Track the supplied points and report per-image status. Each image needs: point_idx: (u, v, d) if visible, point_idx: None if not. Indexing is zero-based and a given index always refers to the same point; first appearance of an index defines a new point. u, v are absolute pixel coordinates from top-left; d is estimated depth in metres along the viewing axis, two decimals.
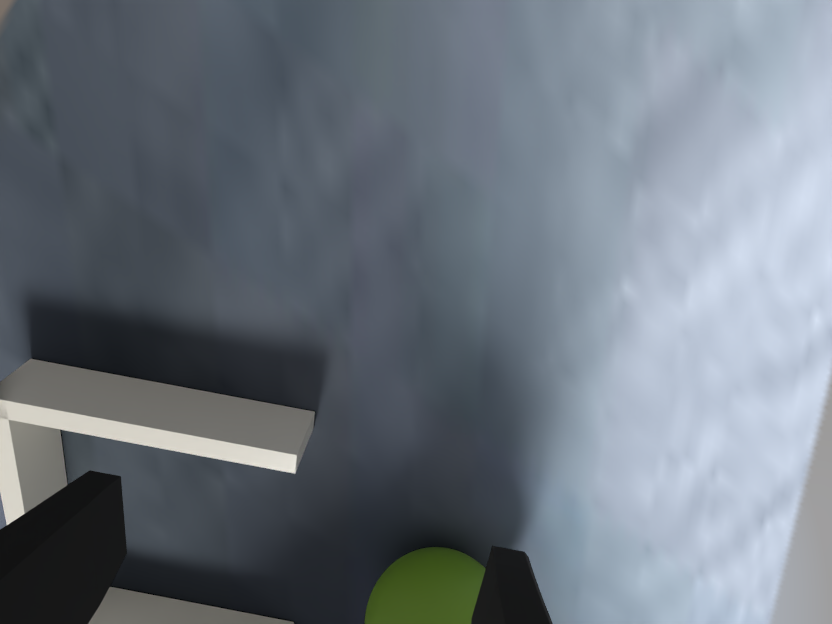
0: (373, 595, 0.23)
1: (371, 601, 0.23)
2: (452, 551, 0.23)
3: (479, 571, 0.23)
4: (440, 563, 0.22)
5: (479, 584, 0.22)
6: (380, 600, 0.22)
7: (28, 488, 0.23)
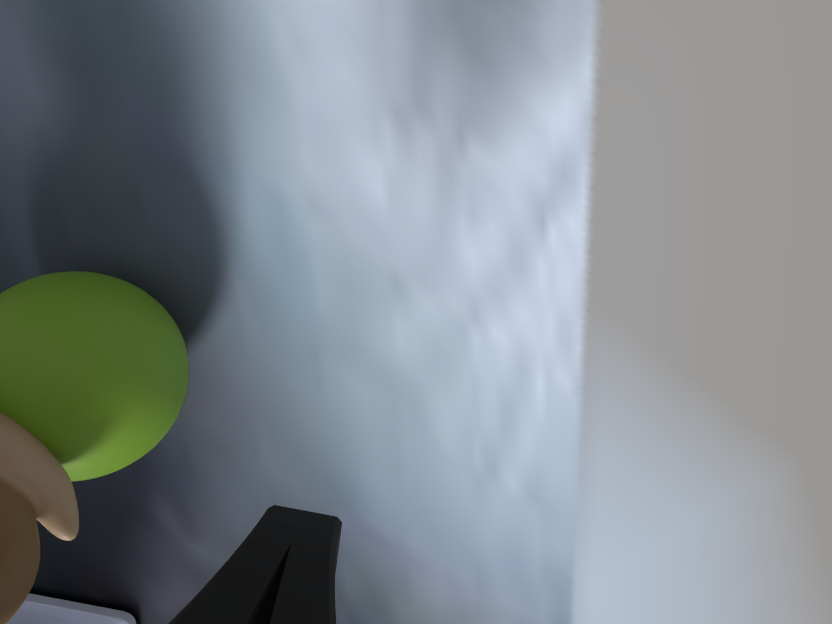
0: None
1: None
2: (107, 275, 0.16)
3: (130, 291, 0.16)
4: (67, 274, 0.15)
5: (115, 297, 0.15)
6: None
7: None
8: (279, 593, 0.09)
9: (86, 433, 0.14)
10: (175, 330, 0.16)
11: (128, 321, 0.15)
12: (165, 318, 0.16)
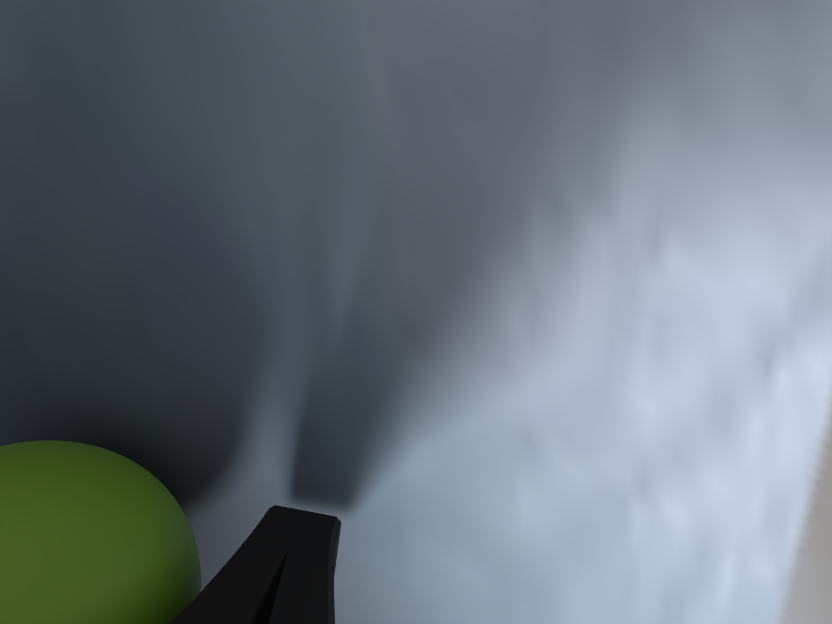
0: None
1: None
2: (81, 447, 0.11)
3: (107, 489, 0.10)
4: (8, 461, 0.10)
5: (77, 513, 0.09)
6: None
7: None
8: (278, 593, 0.09)
9: None
10: (178, 542, 0.10)
11: (92, 560, 0.09)
12: (163, 526, 0.10)
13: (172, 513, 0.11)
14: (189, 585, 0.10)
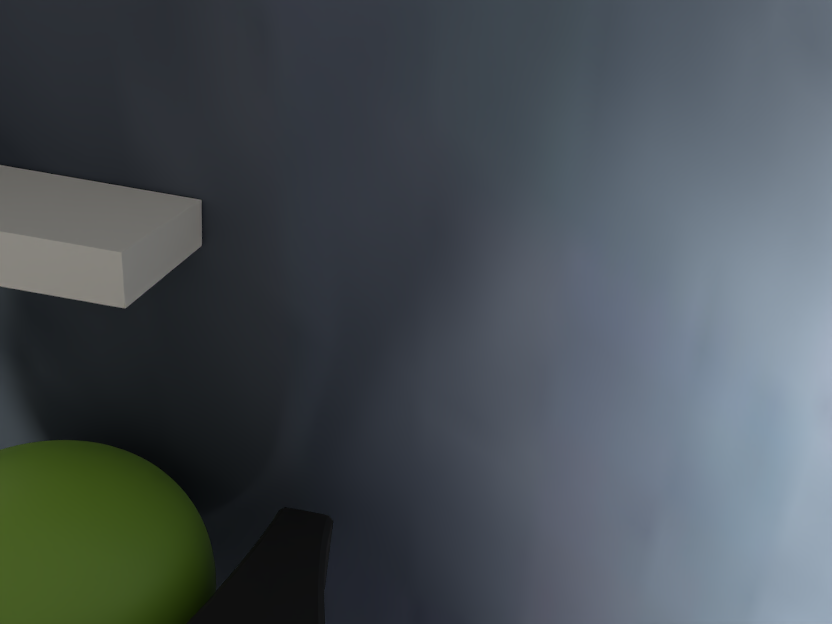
0: None
1: None
2: (99, 447, 0.11)
3: (125, 491, 0.10)
4: (28, 461, 0.10)
5: (97, 515, 0.09)
6: None
7: None
8: (268, 591, 0.09)
9: None
10: (195, 545, 0.10)
11: (112, 564, 0.09)
12: (180, 529, 0.10)
13: (189, 516, 0.11)
14: (205, 589, 0.10)
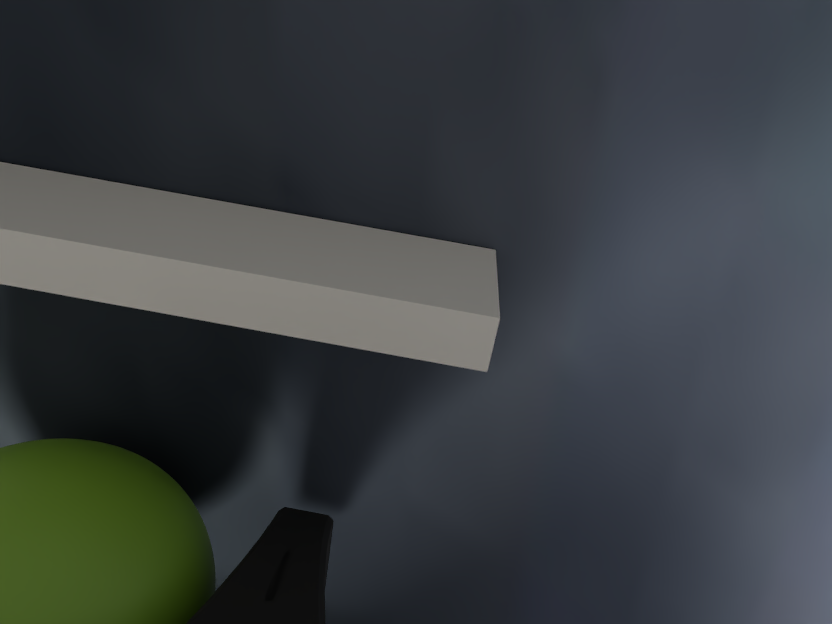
0: None
1: None
2: (99, 446, 0.11)
3: (125, 490, 0.10)
4: (28, 460, 0.10)
5: (96, 514, 0.09)
6: None
7: None
8: (269, 591, 0.09)
9: None
10: (195, 544, 0.10)
11: (111, 563, 0.09)
12: (180, 529, 0.10)
13: (189, 515, 0.11)
14: (205, 588, 0.10)
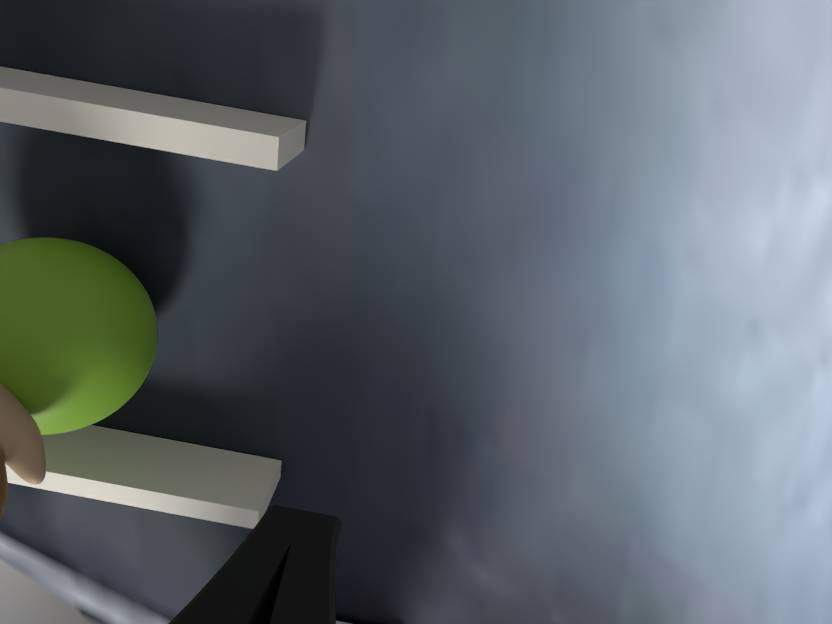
0: None
1: None
2: (81, 242, 0.17)
3: (101, 257, 0.17)
4: (41, 239, 0.16)
5: (86, 262, 0.16)
6: None
7: None
8: (279, 593, 0.09)
9: (55, 385, 0.15)
10: (144, 295, 0.17)
11: (97, 284, 0.16)
12: (135, 284, 0.17)
13: (139, 283, 0.18)
14: (151, 322, 0.17)
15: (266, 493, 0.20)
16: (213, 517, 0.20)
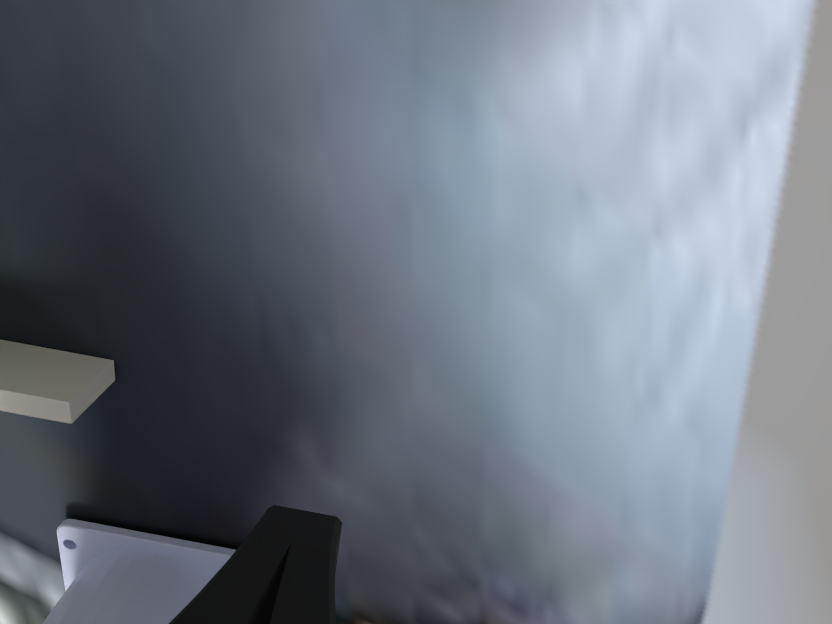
0: None
1: None
2: None
3: None
4: None
5: None
6: None
7: None
8: (279, 593, 0.09)
9: None
10: None
11: None
12: None
13: None
14: None
15: (84, 387, 0.19)
16: (24, 411, 0.19)
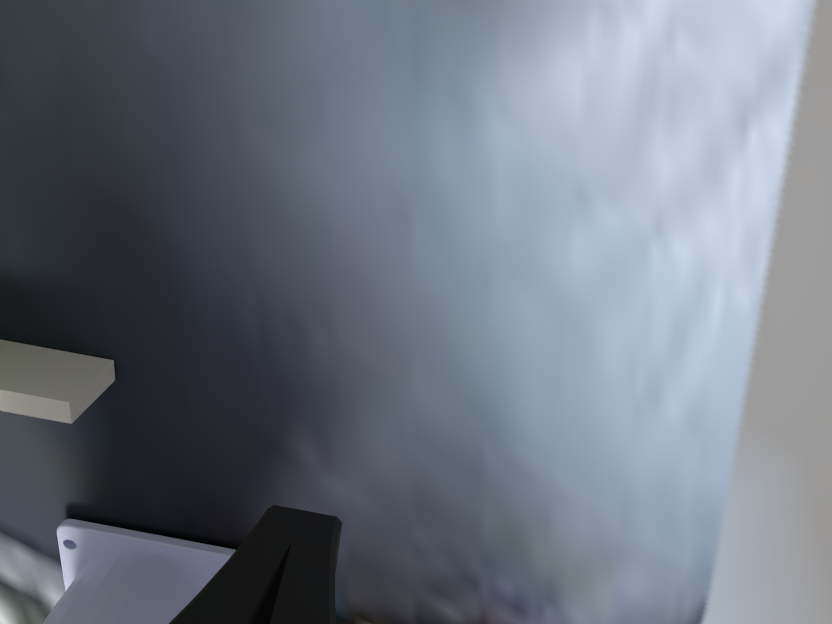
0: None
1: None
2: None
3: None
4: None
5: None
6: None
7: None
8: (279, 593, 0.09)
9: None
10: None
11: None
12: None
13: None
14: None
15: (84, 387, 0.19)
16: (24, 411, 0.19)
